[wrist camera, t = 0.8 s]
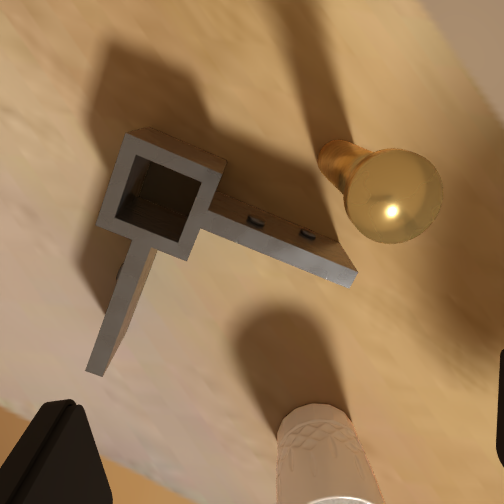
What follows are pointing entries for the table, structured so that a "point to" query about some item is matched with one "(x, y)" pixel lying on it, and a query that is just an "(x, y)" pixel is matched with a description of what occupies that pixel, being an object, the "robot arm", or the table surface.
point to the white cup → (322, 460)
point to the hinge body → (191, 228)
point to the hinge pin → (383, 189)
